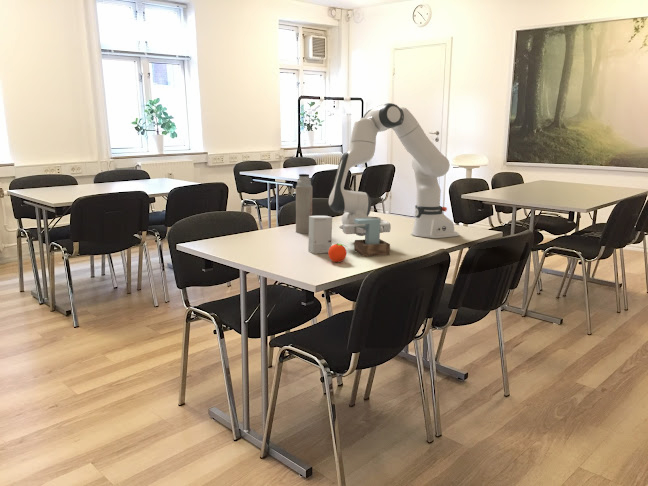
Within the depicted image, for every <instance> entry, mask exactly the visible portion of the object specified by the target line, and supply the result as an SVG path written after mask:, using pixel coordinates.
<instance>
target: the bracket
mask: <svg viewBox="0 0 648 486" xmlns="http://www.w3.org/2000/svg"><path fill="white" fill-rule="evenodd" d="M354 223H356V224H365V229H366V234H365V236H364V240H365V244H366V245H369V244H379V241H380V239H381V238H380V236H381V233H380V219H377V218H362V219H354Z"/></svg>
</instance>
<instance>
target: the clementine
mask: <svg viewBox="0 0 648 486" xmlns="http://www.w3.org/2000/svg"><path fill="white" fill-rule="evenodd" d="M346 248H347V249H349V248H348V246H347V245H344V244H342V243H335V244H332V245H331V247H330V249H329V252H328V258H329V259H330V261H332V262H334V263H340V262H343V261H344V260H345V259H346V258H347V250H346Z"/></svg>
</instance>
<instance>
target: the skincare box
mask: <svg viewBox="0 0 648 486" xmlns="http://www.w3.org/2000/svg"><path fill="white" fill-rule="evenodd" d="M332 230H333V217H332V216H328V215H312V216H309V233H308V249H307V250H308V252H310V253H311V254H313V255H317V254H318V255H319V254H326V253H328V252H329V249H330V247H331V246H332V240H333V239H332V238H333V237H332V233H333V231H332Z"/></svg>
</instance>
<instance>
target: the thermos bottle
mask: <svg viewBox="0 0 648 486" xmlns="http://www.w3.org/2000/svg"><path fill="white" fill-rule="evenodd" d="M298 176H299V177H298V180H297V182H296V185H295V233H298V234H309V216H313V185H312V181H311V180H310V174H307V173H301V174H298Z"/></svg>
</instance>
